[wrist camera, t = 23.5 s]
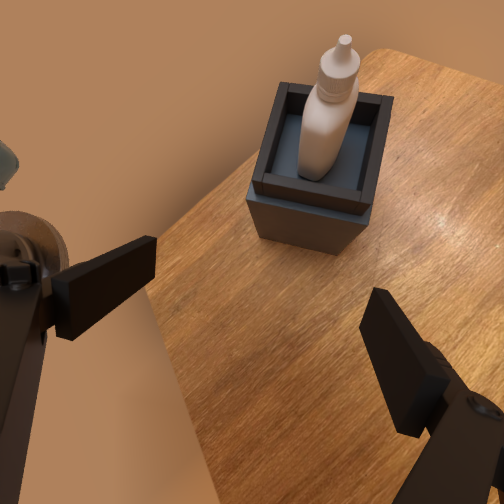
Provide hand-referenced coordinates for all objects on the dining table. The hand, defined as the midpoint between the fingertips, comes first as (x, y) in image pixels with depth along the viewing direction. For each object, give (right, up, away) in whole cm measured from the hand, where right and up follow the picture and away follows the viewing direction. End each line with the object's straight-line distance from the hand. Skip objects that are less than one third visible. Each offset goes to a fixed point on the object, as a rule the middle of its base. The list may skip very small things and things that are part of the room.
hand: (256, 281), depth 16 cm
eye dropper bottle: (+6, +11, +11) cm, 17 cm away
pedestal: (+8, +8, +25) cm, 28 cm away
